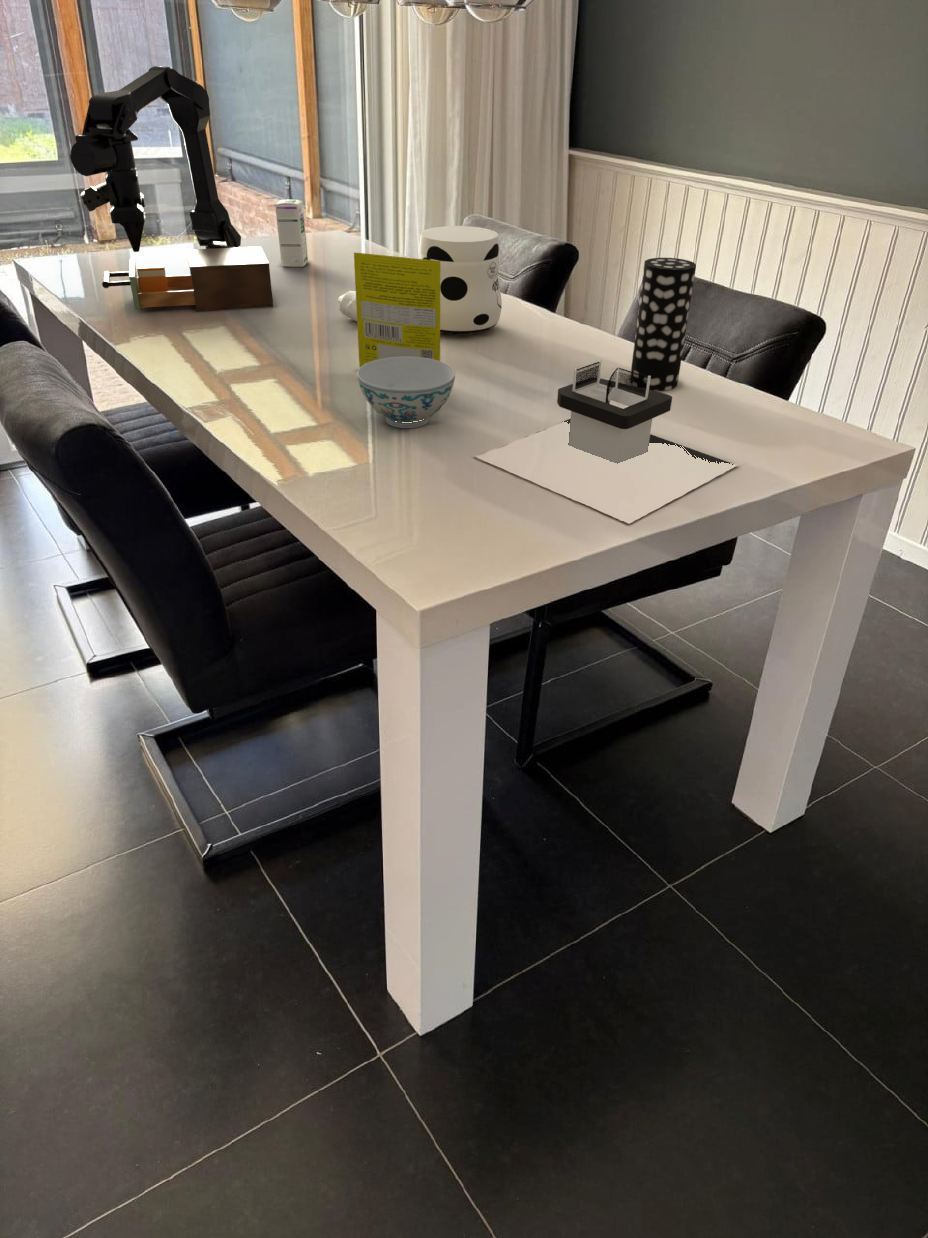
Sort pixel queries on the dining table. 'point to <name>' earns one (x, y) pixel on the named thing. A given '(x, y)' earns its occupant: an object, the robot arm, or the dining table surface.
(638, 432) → the black-topped pedestal
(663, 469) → the dining table surface
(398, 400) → the chinaware
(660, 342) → the white-spotted black cylinder
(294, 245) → the syrup box
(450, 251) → the milk container
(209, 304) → the organizer
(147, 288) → the snack box
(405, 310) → the food package
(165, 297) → the drawer
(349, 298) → the roll
